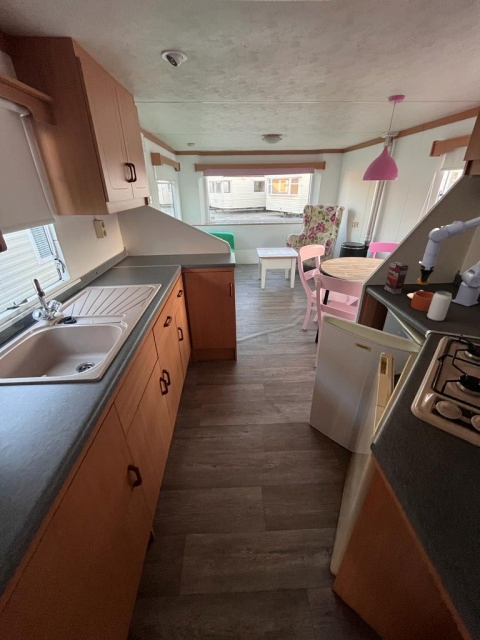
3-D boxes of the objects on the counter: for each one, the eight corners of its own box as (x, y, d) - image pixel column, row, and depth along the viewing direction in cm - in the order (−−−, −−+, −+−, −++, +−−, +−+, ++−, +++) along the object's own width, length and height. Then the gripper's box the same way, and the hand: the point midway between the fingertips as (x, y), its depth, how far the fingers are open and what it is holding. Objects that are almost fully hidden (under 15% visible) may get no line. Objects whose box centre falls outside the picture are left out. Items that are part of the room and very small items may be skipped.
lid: (415, 293, 147) (417, 285, 145) (436, 300, 138) (438, 291, 136) (402, 297, 143) (404, 289, 141) (423, 304, 134) (425, 295, 132)
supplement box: (383, 289, 154) (390, 262, 147) (391, 288, 155) (397, 261, 148) (393, 294, 147) (401, 265, 140) (401, 293, 147) (409, 265, 140)
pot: (418, 302, 136) (422, 290, 133) (439, 309, 128) (444, 296, 125) (405, 305, 132) (409, 293, 129) (426, 313, 124) (430, 300, 121)
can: (446, 321, 116) (456, 296, 110) (430, 320, 117) (438, 295, 112) (439, 315, 121) (448, 290, 116) (424, 314, 123) (432, 290, 117)
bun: (424, 281, 140) (426, 273, 138) (430, 284, 135) (433, 276, 134) (414, 281, 140) (416, 274, 138) (420, 284, 135) (423, 276, 133)
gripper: (422, 250, 139) (415, 275, 144) (421, 256, 128) (413, 283, 134) (438, 252, 135) (430, 277, 141) (438, 257, 124) (430, 285, 130)
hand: (423, 280), depth 137 cm, fingers closed on bun, 5 cm apart
